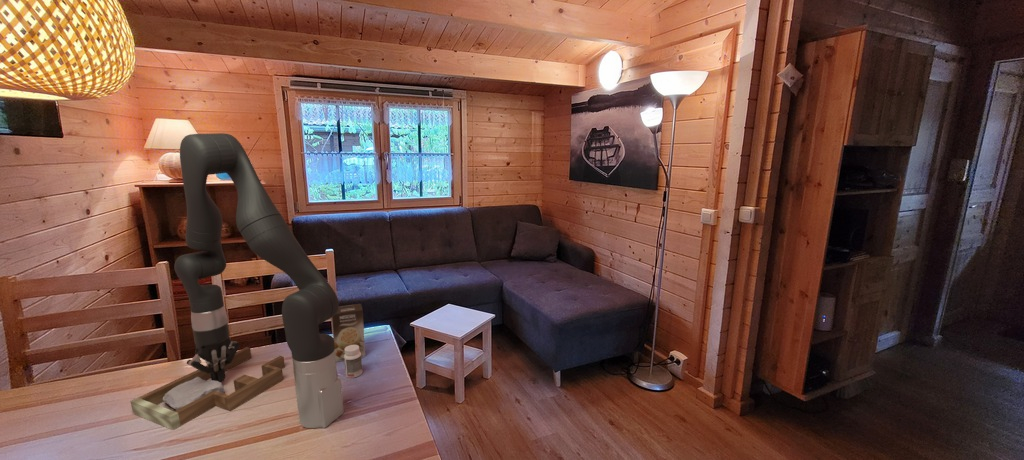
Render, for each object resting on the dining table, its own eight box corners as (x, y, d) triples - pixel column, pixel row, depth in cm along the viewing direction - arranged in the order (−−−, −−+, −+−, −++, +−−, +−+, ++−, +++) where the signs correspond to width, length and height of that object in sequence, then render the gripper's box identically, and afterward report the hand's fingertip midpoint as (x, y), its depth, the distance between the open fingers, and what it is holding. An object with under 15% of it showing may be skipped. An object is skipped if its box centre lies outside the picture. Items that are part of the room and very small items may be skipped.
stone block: (193, 422, 98) (229, 392, 107) (185, 408, 96) (223, 378, 105) (160, 414, 101) (198, 386, 110) (152, 400, 100) (191, 372, 108)
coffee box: (334, 363, 122) (330, 314, 119) (334, 353, 127) (330, 307, 124) (366, 356, 126) (362, 309, 122) (364, 347, 131) (361, 302, 128)
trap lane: (298, 370, 117) (297, 360, 116) (188, 436, 90) (185, 422, 90) (248, 357, 125) (246, 346, 124) (132, 413, 98) (130, 401, 97)
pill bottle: (366, 372, 117) (364, 346, 115) (352, 380, 113) (350, 353, 111) (356, 367, 119) (354, 342, 118) (342, 375, 115) (339, 348, 114)
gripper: (191, 336, 98) (202, 398, 102) (244, 316, 110) (251, 372, 114) (173, 331, 101) (183, 392, 104) (226, 312, 113) (234, 367, 116)
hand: (219, 381), depth 109 cm, fingers closed
